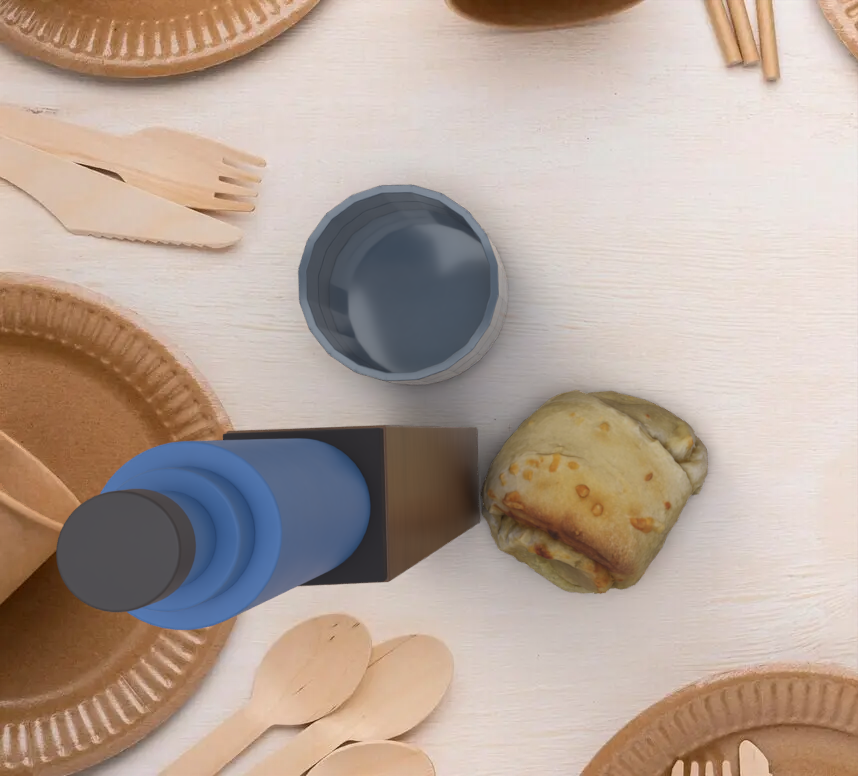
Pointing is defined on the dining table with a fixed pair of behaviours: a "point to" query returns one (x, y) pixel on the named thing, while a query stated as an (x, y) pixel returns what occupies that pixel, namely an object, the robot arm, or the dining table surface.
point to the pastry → (592, 488)
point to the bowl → (402, 285)
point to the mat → (369, 458)
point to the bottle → (213, 528)
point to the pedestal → (423, 489)
